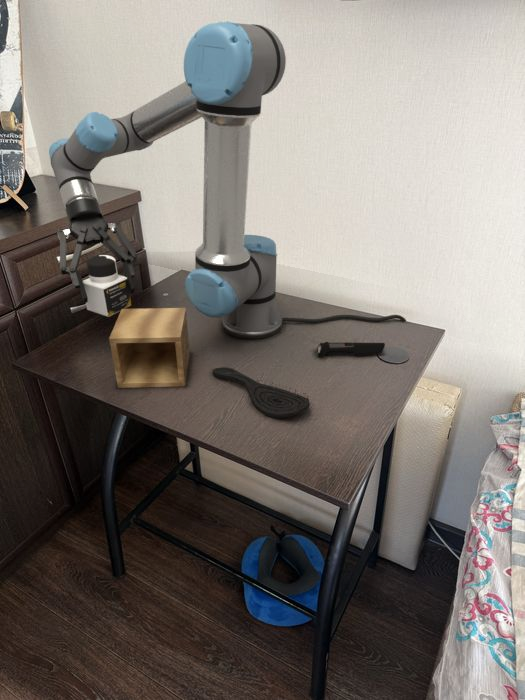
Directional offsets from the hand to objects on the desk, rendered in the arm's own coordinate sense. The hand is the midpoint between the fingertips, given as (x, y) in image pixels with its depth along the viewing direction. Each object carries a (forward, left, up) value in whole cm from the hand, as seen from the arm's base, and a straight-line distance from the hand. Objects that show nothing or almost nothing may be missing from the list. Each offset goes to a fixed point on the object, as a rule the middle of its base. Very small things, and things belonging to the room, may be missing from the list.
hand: (109, 295), depth 109 cm
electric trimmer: (-54, +3, -15) cm, 56 cm away
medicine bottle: (+1, -3, -5) cm, 5 cm away
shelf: (-10, +8, -15) cm, 19 cm away
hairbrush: (-32, +18, -15) cm, 39 cm away
